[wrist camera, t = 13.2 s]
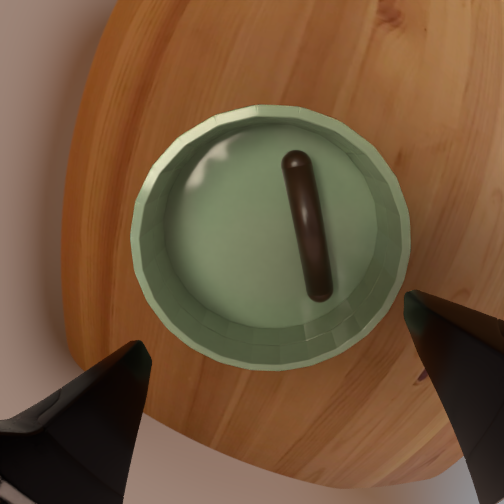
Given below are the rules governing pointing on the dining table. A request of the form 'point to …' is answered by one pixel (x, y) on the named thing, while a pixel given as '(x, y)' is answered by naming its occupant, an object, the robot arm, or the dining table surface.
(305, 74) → the dining table surface
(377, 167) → the bowl
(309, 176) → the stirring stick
